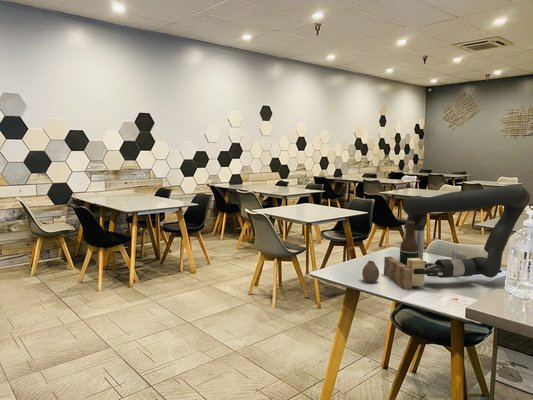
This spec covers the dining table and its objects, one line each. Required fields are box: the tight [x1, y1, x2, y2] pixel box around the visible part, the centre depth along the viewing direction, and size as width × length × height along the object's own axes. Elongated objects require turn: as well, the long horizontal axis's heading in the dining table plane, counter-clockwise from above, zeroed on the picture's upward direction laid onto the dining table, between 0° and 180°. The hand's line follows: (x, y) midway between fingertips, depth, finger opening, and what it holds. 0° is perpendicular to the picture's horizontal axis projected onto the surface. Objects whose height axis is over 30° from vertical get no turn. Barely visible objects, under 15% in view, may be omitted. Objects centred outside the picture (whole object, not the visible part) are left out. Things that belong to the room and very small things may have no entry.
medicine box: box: [451, 250, 467, 259], centre depth 187 cm, size 8×4×9 cm, turn 168°
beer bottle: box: [398, 221, 418, 266], centre depth 182 cm, size 8×8×24 cm
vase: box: [361, 260, 380, 284], centre depth 172 cm, size 7×7×9 cm
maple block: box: [407, 258, 426, 287], centre depth 165 cm, size 5×5×10 cm
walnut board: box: [383, 256, 413, 290], centre depth 173 cm, size 20×3×8 cm, turn 8°
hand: (410, 269), depth 165 cm, fingers closed on maple block, 5 cm apart
